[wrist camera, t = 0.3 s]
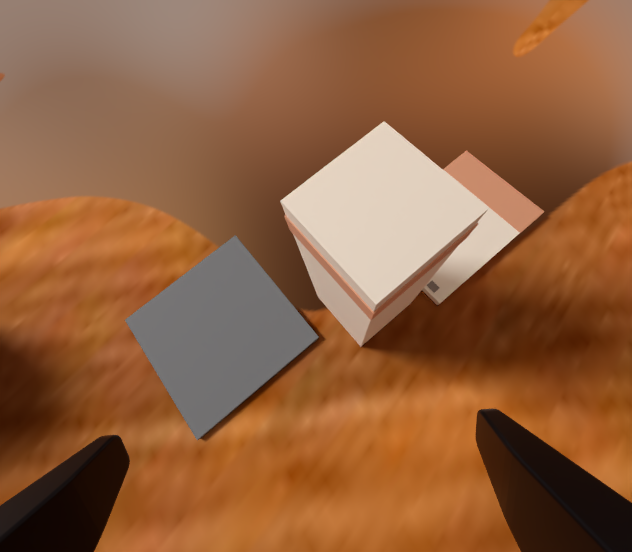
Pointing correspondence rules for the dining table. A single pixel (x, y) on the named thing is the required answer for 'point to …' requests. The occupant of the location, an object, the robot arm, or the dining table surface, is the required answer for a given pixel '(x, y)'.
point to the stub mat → (219, 335)
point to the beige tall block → (378, 228)
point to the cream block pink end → (481, 224)
